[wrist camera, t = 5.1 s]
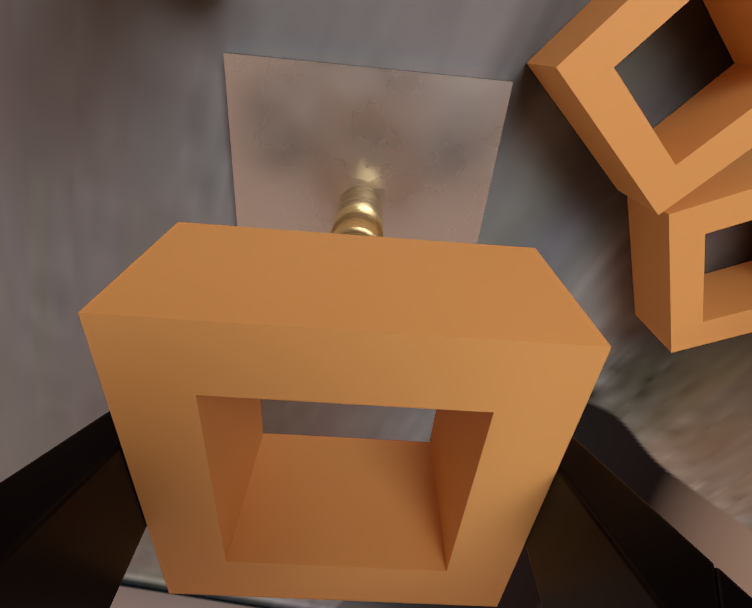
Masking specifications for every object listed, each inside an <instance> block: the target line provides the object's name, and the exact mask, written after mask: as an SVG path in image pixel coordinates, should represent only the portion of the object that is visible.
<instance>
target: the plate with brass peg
mask: <svg viewBox="0 0 752 608" xmlns="http://www.w3.org/2000/svg"><path fill="white" fill-rule="evenodd" d="M223 54H224V67H225V79H226V92H227V104H228V117H229V129H230V142H231V154H232V167H233V179H234V192H235V204H236V217H237V226H239V227H253V228H266V229H280V230H294V231H307V232H321V233H335V234H348V235H362V236H376V237H389V238H403V239H417V240H430V241H444V242H458V243H471V244H477V241H478V237H479V232H480V228H481V223H482V219H483V214H484V210H485V206H486V201H487V197H488V192H489V188H490V183H491V179H492V174H493V170H494V165H495V161H496V156H497V152H498V147H499V143H500V139H501V134H502V130H503V125H504V121H505V116H506V112H507V107H508V103H509V98H510V94H511V89H512V85H513V82H511V81H505V80H495V79H485V78H475V77H465V76H455V75H445V74H435V73H425V72H415V71H405V70H395V69H385V68H375V67H365V66H355V65H345V64H336V63H326V62H316V61H306V60H296V59H286V58H276V57H266V56H256V55H246V54H236V53H223Z"/></svg>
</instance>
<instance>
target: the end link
mask: <svg viewBox="0 0 752 608" xmlns="http://www.w3.org/2000/svg"><path fill="white" fill-rule="evenodd" d="M78 314H79V317H80V320H81V323H82V326H83V329H84V332H85V335H86V339H87V342H88V345H89V348H90V351H91V354H92V357H93V360H94V363H95V366H96V369H97V372H98V376H99V379H100V382H101V385H102V388H103V391H104V394H105V397H106V400H107V403H108V406H109V409H110V413H111V416H112V419H113V422H114V425H115V428H116V431H117V434H118V437H119V440H120V443H121V446H122V450H123V453H124V456H125V459H126V462H127V465H128V468H129V471H130V474H131V477H132V480H133V483H134V487H135V490H136V493H137V496H138V499H139V502H140V505H141V508H142V511H143V514H144V517H145V520H146V524H147V527H148V530H149V533H150V536H151V539H152V542H153V545H154V548H155V551H156V554H157V557H158V561H159V564H160V567H161V570H162V573H163V576H164V579H165V582H166V585H167V588H168V591H169V593H176V594H200V595H225V596H249V597H274V598H298V599H323V600H348V601H373V602H397V603H421V604H445V605H447V604H448V605H470V606H494V607H497V605H498V603H499V601H500V598H501V596H502V594H503V592H504V589H505V587H506V585H507V583H508V580H509V578H510V576H511V573H512V571H513V569H514V567H515V564H516V562H517V559H518V557H519V555H520V553H521V551H522V548H523V546H524V544H525V542H526V539H527V537H528V535H529V533H530V530H531V528H532V526H533V524H534V521H535V519H536V517H537V515H538V512H539V510H540V508H541V506H542V503H543V501H544V499H545V496H546V494H547V492H548V490H549V487H550V485H551V483H552V481H553V478H554V476H555V474H556V472H557V469H558V467H559V465H560V463H561V460H562V458H563V456H564V453H565V451H566V449H567V447H568V444H569V442H570V440H571V438H572V435H573V433H574V431H575V428H576V426H577V424H578V422H579V419H580V417H581V415H582V413H583V410H584V408H585V406H586V404H587V401H588V399H589V397H590V395H591V392H592V390H593V388H594V386H595V383H596V381H597V379H598V376H599V374H600V372H601V370H602V367H603V365H604V363H605V361H606V358H607V356H608V354H609V352H610V349H611V346H610V345H609V343H608V342H607V341H606V339H605V338H604V337H603V335H602V334H601V333H600V332H599V330H598V329H597V328H596V326H595V325H594V324H593V322H592V321H591V320H590V319H589V317H588V316H587V315H586V313H585V312H584V311H583V310H582V308H581V307H580V306H579V304H578V303H577V302H576V300H575V299H574V298H573V297H572V295H571V294H570V293H569V291H568V290H567V289H566V287H565V286H564V285H563V284H562V282H561V281H560V280H559V278H558V277H557V276H556V275H555V273H554V272H553V271H552V269H551V268H550V267H549V265H548V264H547V263H546V262H545V260H544V259H543V258H542V256H541V255H540V254H539V252H538V251H537V250H536V249H535V248H526V247H512V246H498V245H485V244H471V243H458V242H444V241H430V240H417V239H403V238H389V237H376V236H362V235H348V234H335V233H321V232H307V231H294V230H280V229H266V228H253V227H239V226H226V225H212V224H198V223H185V222H178V223H177V224H175V225H174V226H173V227H172V228H171V229H170V230H169V231H168V232H167V233H166V234H164V235H163V236H162V237H161V238H160V239H159V240H158V241H157V242H156V243H154V244H153V245H152V246H151V247H150V248H149V249H148V250H147V251H146V252H145V253H143V254H142V255H141V256H140V257H139V258H138V259H137V260H136V261H135V262H133V263H132V264H131V265H130V266H129V267H128V268H127V269H126V270H125V271H123V272H122V273H121V274H120V275H119V276H118V277H117V278H116V279H115V280H114V281H112V282H111V283H110V284H109V285H108V286H107V287H106V288H105V289H104V290H102V291H101V292H100V293H99V294H98V295H97V296H96V297H95V298H94V299H92V300H91V301H90V302H89V303H88V304H87V305H86V306H85V307H84V308H83V309H81V310H80V311H79V312H78ZM261 399H271V400H288V401H305V402H322V403H339V404H356V405H374V406H391V407H408V408H425V409H436V413H435V418H434V423H433V428H432V433H431V438H430V442H415V441H397V440H379V439H361V438H342V437H324V436H306V435H288V434H270V433H263V424H262V412H261Z"/></svg>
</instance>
